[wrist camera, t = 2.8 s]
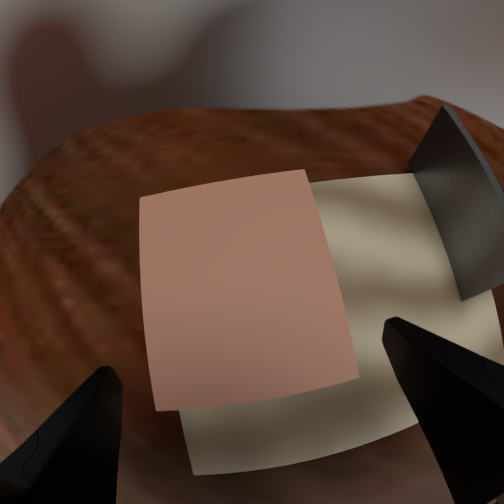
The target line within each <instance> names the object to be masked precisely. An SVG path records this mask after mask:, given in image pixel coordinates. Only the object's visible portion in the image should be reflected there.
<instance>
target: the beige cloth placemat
mask: <svg viewBox="0 0 504 504" xmlns="http://www.w3.org/2000/svg"><path fill="white" fill-rule="evenodd" d="M309 184H310V187H311V191H312V194H313V197H314V200H315V203H316V206H317V209H318V212H319V216H320V219H321V222H322V225H323V229H324V232H325V236H326V239H327V242H328V246H329V249H330V253H331V257H332V260H333V264H334V268H335V271H336V275H337V279H338V283H339V287H340V291H341V295H342V299H343V303H344V307H345V311H346V315H347V319H348V324H349V328H350V333H351V337H352V342H353V347H354V352H355V356H356V361H357V367H358V372H359V378H356V379H353V380H349V381H346V382H342V383H339V384H335V385H331V386H328V387H324V388H320V389H316V390H312V391H307V392H303V393H298V394H294V395H289V396H284V397H279V398H274V399H268V400H263V401H257V402H250V403H244V404H237V405H229V406H221V407H212V408H202V409H189V410H179V412H180V417H181V422H182V427H183V432H184V437H185V441H186V446H187V450H188V454H189V458H190V462H191V466H192V470H193V474H194V475H210V474H225V473H236V472H245V471H253V470H261V469H267V468H273V467H279V466H285V465H290V464H295V463H300V462H304V461H308V460H313V459H317V458H321V457H324V456H328V455H332V454H335V453H339V452H342V451H346V450H349V449H352V448H355V447H358V446H361V445H364V444H367V443H370V442H373V441H375V440H378V439H381V438H383V437H386V436H388V435H391V434H393V433H396V432H398V431H400V430H403V429H405V428H407V427H410V426H412V425H414V424H416V423H418V420H417V418H416V416H415V414H414V412H413V410H412V408H411V406H410V404H409V402H408V400H407V398H406V396H405V394H404V392H403V390H402V388H401V387H400V385H399V383H398V381H397V378H396V376H395V374H394V371H393V368H392V366H391V363H390V361H389V358H388V356H387V354H386V351H385V349H384V346H383V344H382V334H383V328H384V322H385V320H386V319H388V318H391V317H395V316H397V317H400V318H402V319H404V320H406V321H408V322H411V323H413V324H415V325H417V326H419V327H421V328H424V329H426V330H428V331H430V332H432V333H434V334H436V335H439V336H441V337H443V338H445V339H447V340H449V341H451V342H454V343H456V344H458V345H460V346H462V347H464V348H467V349H469V350H471V351H473V352H475V353H477V354H479V355H480V356H481V355H482V356H484V357H486V358H488V359H490V360H493V361H495V362H497V363H499V364H502V365H504V348H503V342H502V336H501V330H500V325H499V320H498V316H497V311H496V307H495V303H494V299H493V295H492V291H491V289H490V290H488V291H486V292H484V293H481V294H479V295H477V296H474V297H472V298H470V299H467V300H465V301H462V302H461V299H460V295H459V292H458V288H457V285H456V281H455V278H454V275H453V271H452V268H451V265H450V262H449V259H448V256H447V253H446V250H445V248H444V245H443V242H442V239H441V237H440V234H439V232H438V229H437V226H436V224H435V222H434V219H433V217H432V214H431V212H430V210H429V207H428V205H427V203H426V200H425V198H424V196H423V194H422V192H421V190H420V187H419V185H418V183H417V181H416V179H415V177H414V175H413V173H408V174H394V175H381V176H370V177H359V178H349V179H340V180H331V181H322V182H314V183H309Z"/></svg>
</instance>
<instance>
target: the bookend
mask: <svg viewBox="0 0 504 504" xmlns="http://www.w3.org/2000/svg"><path fill="white" fill-rule="evenodd" d="M408 165H409V167H410V169H411V171H412V173H413V175H414V177H415V179H416V181H417V183H418V185H419V187H420V190H421V192H422V194H423V196H424V198H425V200H426V203H427V205H428V207H429V210H430V212H431V214H432V217H433V219H434V222H435V224H436V226H437V229H438V232H439V234H440V237H441V239H442V242H443V245H444V248H445V250H446V253H447V256H448V259H449V262H450V265H451V268H452V271H453V275H454V278H455V281H456V285H457V288H458V292H459V295H460V299H461V302H462V301H465V300H467V299H470V298H472V297H474V296H477V295H479V294H481V293H484V292H486V291H488V290H490V289H492V288H495V287H497V286H499V285H501V284H503V283H504V193H503V191H502V189H501V187H500V185H499V183H498V181H497V180H496V178H495V176H494V174H493V172H492V170H491V168H490V167H489V165H488V163H487V161H486V160H485V158H484V156H483V155H482V153H481V151H480V150H479V148H478V146H477V145H476V143H475V142H474V140H473V139H472V137H471V136H470V134H469V133H468V131H467V130H466V128H465V127H464V125H463V124H462V122H461V121H460V120H459V118H458V117H457V115H456V114H455V113H454V111H453V110H452V109H451V107H450V106H446V105H442V106H441V108H440V110H439V111H438V113H437V115H436V117H435V119H434V120H433V122H432V124H431V126H430V127H429V129H428V131H427V132H426V134H425V136H424V138H423V139H422V141H421V143H420V144H419V146H418V148H417V149H416V151H415V152H414V154H413V156H412V157H411V159H410V161H409V162H408Z"/></svg>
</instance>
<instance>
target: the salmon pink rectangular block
mask: <svg viewBox="0 0 504 504" xmlns="http://www.w3.org/2000/svg"><path fill="white" fill-rule="evenodd" d="M139 237H140V275H141V293H142V308H143V320H144V330H145V340H146V348H147V356H148V364H149V371H150V378H151V384H152V390H153V396H154V402H155V408H156V411H174V410H189V409H202V408H212V407H221V406H229V405H237V404H244V403H250V402H257V401H263V400H268V399H274V398H279V397H284V396H289V395H294V394H298V393H303V392H307V391H312V390H316V389H320V388H324V387H328V386H331V385H335V384H339V383H342V382H346V381H349V380H353V379H356V378H359V372H358V367H357V361H356V356H355V352H354V347H353V342H352V337H351V333H350V328H349V324H348V319H347V315H346V311H345V307H344V303H343V299H342V295H341V291H340V287H339V283H338V279H337V275H336V271H335V268H334V264H333V260H332V257H331V253H330V249H329V246H328V242H327V239H326V236H325V232H324V229H323V225H322V222H321V219H320V216H319V212H318V209H317V206H316V203H315V200H314V197H313V194H312V191H311V187H310V184H309V181H308V179H307V176H306V173H305V170H304V169H302V170H293V171H286V172H278V173H271V174H264V175H257V176H250V177H244V178H238V179H232V180H226V181H220V182H214V183H209V184H204V185H198V186H193V187H188V188H183V189H178V190H173V191H168V192H164V193H159V194H155V195H150V196H146V197H141V198H140V221H139Z"/></svg>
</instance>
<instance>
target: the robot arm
mask: <svg viewBox="0 0 504 504" xmlns="http://www.w3.org/2000/svg"><path fill="white" fill-rule="evenodd" d="M382 344H383V346H384V349H385V351H386V354H387V356H388V358H389V361H390V363H391V366H392V368H393V371H394V374H395V376H396V378H397V381H398V383H399V385H400V387H401V388H402V390H403V392H404V394H405V396H406V398H407V400H408V402H409V404H410V406H411V408H412V410H413V412H414V414H415V416H416V418H417V420H418V422H419V424H420V426H421V428H422V430H423V432H424V434H425V436H426V438H427V440H428V442H429V445H430V447H431V449H432V451H433V453H434V455H435V458H436V460H437V462H438V464H439V466H440V469H441V471H442V473H443V476H444V478H445V481H446V483H447V485H448V488H449V490H450V493H451V495H452V498H453V500H454V503H455V504H487V503H488V502H490V501H492V500H493V499H495V498H496V500H497V502H496V503H494V504H504V365H502V364H499V363H497V362H495V361H493V360H490V359H488V358H486V357H484V356H482V355H481V356H480V355H479V354H477V353H475V352H473V351H471V350H469V349H467V348H464V347H462V346H460V345H458V344H456V343H454V342H451V341H449V340H447V339H445V338H443V337H441V336H439V335H436V334H434V333H432V332H430V331H428V330H426V329H424V328H421V327H419V326H417V325H415V324H413V323H411V322H408V321H406V320H404V319H402V318H400V317H397V316H395V317H391V318H388V319H386V320H385V322H384V328H383V334H382ZM122 400H123V385H122V382H121V381H120V379H119V377H118V376H117V374H116V373H115V371H114V369H113V368H112V367H110V366H102V367H99V368H98V369H97V370H96V371H95V372H94V373H93V374H92V375H91V376H90V377H89V378H88V379H87V380H86V381H85V382H84V383H83V384H82V385H81V386H80V387H79V388H78V389H77V390H76V391H75V392H74V393H73V394H72V395H71V396H70V397H69V398H68V399H67V400H66V401H65V402H64V403H63V404H62V405H61V406H60V407H59V408H58V409H57V410H56V411H55V412H54V413H53V414H52V415H51V416H50V417H49V418H48V419H47V420H46V421H45V422H44V423H43V424H42V425H41V426H40V427H39V428H38V430H36V431H35V432H34V433H33V434H32V435H31V436H30V437H29V438H28V439H27V440H26V441H25V442H24V443H23V444H22V445H21V446H19V447H18V448H17V449H16V450H15V451H14V452H13V453H11V454H10V455H9V456H8V457H7V458H6V459H4V460H3V461H2V462H1V463H0V504H116V490H117V473H118V460H119V449H120V439H121V430H122Z"/></svg>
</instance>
